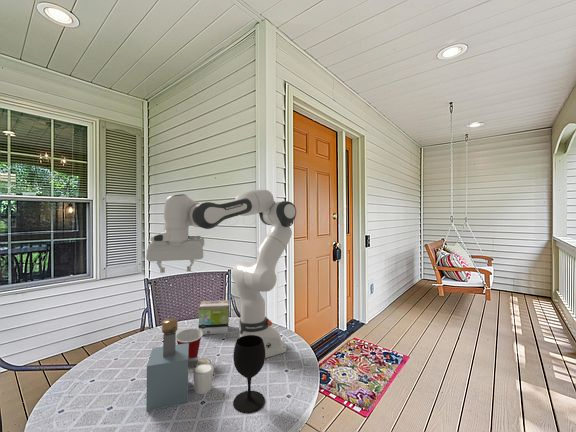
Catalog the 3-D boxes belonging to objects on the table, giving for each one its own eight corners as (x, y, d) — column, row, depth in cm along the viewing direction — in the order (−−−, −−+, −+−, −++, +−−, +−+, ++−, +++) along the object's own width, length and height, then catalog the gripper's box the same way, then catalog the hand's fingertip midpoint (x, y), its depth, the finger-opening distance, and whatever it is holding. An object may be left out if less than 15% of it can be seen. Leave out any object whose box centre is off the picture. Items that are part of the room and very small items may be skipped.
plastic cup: (176, 373, 103) (176, 342, 103) (173, 359, 113) (174, 331, 113) (205, 366, 108) (205, 336, 108) (200, 353, 118) (200, 326, 118)
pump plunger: (177, 348, 93) (177, 317, 93) (176, 355, 89) (177, 322, 89) (162, 350, 92) (162, 319, 92) (160, 357, 87) (161, 324, 87)
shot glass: (207, 396, 90) (207, 375, 90) (188, 393, 91) (188, 372, 91) (216, 383, 97) (216, 364, 97) (199, 381, 98) (199, 362, 98)
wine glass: (236, 417, 80) (237, 351, 81) (230, 396, 90) (230, 336, 90) (269, 407, 85) (269, 344, 85) (259, 388, 94) (260, 331, 94)
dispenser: (197, 379, 99) (197, 322, 99) (197, 400, 88) (197, 336, 88) (152, 387, 94) (152, 328, 94) (146, 411, 83) (146, 343, 83)
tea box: (198, 335, 135) (198, 306, 135) (200, 327, 145) (200, 300, 145) (228, 333, 138) (228, 305, 138) (228, 325, 148) (229, 299, 148)
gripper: (204, 235, 109) (203, 268, 109) (148, 235, 103) (148, 271, 103) (204, 236, 104) (204, 271, 103) (145, 237, 97) (145, 275, 97)
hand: (175, 271), depth 103 cm, fingers open, 8 cm apart
